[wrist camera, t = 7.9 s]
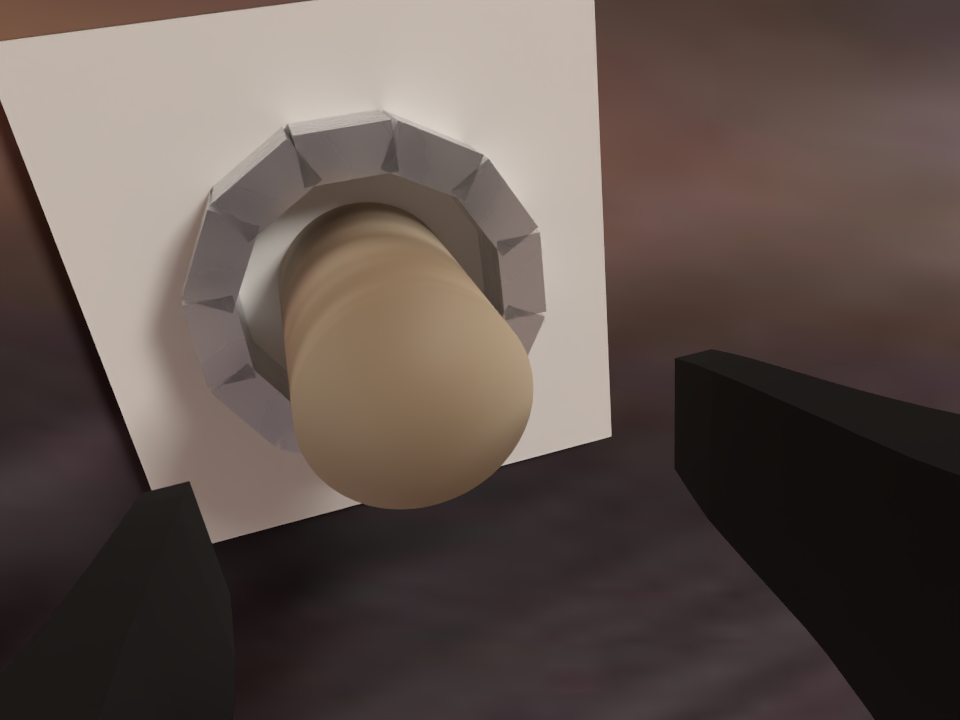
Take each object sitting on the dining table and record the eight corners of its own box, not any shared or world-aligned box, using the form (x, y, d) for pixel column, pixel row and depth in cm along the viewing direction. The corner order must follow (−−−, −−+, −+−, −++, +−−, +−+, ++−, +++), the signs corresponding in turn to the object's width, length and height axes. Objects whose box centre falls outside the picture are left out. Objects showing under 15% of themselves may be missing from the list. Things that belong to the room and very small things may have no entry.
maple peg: (305, 384, 18) (328, 537, 13) (256, 225, 16) (259, 329, 11) (463, 341, 19) (546, 470, 14) (433, 184, 17) (515, 263, 12)
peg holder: (177, 538, 20) (171, 596, 18) (-12, 42, 14) (-51, 49, 12) (602, 426, 22) (637, 466, 20) (581, -35, 17) (626, -40, 15)
